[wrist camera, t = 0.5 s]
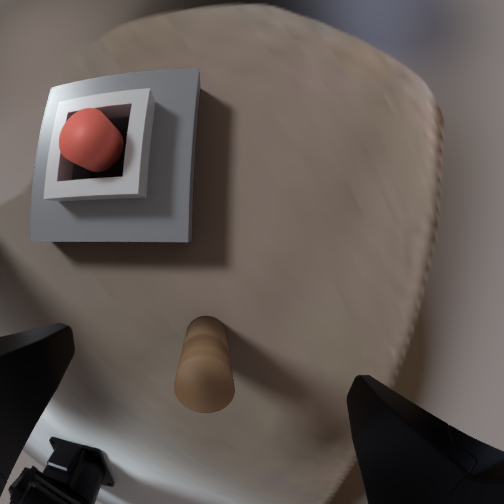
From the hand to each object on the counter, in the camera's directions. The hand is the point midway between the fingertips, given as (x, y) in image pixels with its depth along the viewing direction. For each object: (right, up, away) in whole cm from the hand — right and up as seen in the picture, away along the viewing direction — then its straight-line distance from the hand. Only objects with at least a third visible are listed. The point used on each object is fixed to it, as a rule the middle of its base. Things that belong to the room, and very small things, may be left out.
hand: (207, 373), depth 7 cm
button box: (-9, +10, +11) cm, 18 cm away
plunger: (-8, +10, +8) cm, 15 cm away
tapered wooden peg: (-2, -3, +13) cm, 13 cm away
